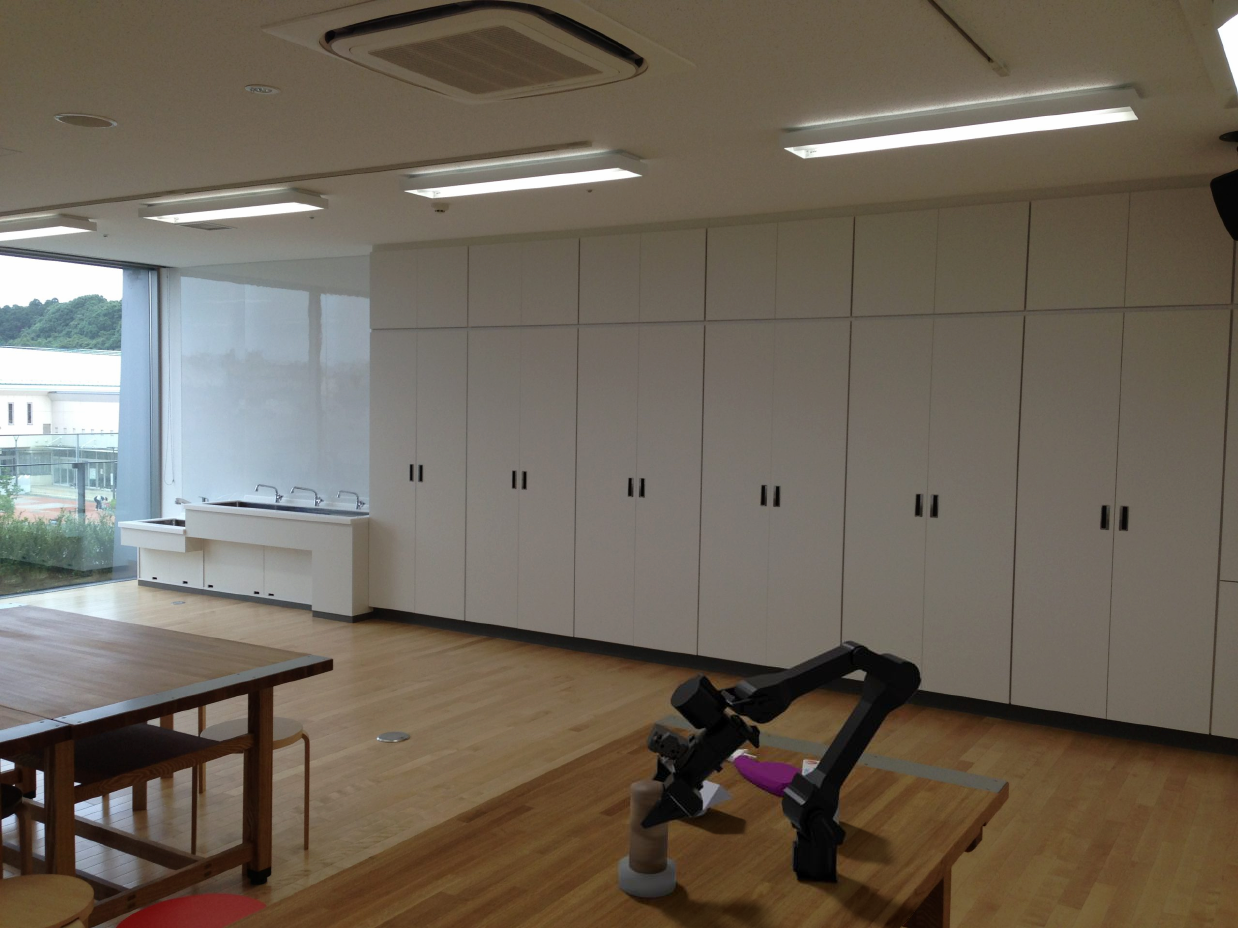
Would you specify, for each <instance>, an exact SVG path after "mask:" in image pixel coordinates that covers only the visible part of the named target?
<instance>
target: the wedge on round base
mask: <svg viewBox="0 0 1238 928" xmlns="http://www.w3.org/2000/svg"><path fill="white" fill-rule="evenodd" d="M703 786H704V787H703V788H702V789H701V790H700V791H699V792H700V793H701V795H702V799H703V810H702V811H701V812H700V813H699V814H698V815H697V816H696V817H699V816H703V815H705V814H706V813H707V811H708V810H707V809H709V808H712V807H714V806H716V805H718V804H720V803H723V802H725V801H728V800H730V799H733V798H735V796H733V794H731V793H730V792H729V791H727V789H725V788H724V787H723V786H722V785H720V784H719V783H715V782H711V781H709V780H707V779H706V780H705V781H704V782H703ZM685 818H686V817H685ZM686 819H687V818H686Z"/></svg>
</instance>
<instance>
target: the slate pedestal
mask: <svg viewBox="0 0 1238 928" xmlns="http://www.w3.org/2000/svg"><path fill="white" fill-rule="evenodd" d="M676 881H677V864H676V863H675V861H674V860H672V859H671V858H669V857H667V868H666V870H665V871H663V872H660V873H657V874H642V873H638V872H635V871H633V870H632V869H631V868H630V867H629V855H627V856H625V857H622V858H621V859H620V860H619V862H618V881H617V885H618V887H619V890H621V891H623V892H624V893H626V894H629V895H631V896H634V897H639V898H649V899H651V898H652V899H653V898H660V897H664V896H667V895H669V894H671V893H673V892H674V891H675V889H676V885H677V884H676V883H677V882H676Z"/></svg>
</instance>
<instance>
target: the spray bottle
mask: <svg viewBox="0 0 1238 928" xmlns="http://www.w3.org/2000/svg"><path fill="white" fill-rule="evenodd" d="M754 759H755V760H754ZM756 759H757V756H755V755H752V754H749V749H748V748H745V749H744V748H743V749H741V748H739V749H738V750H737V751H736V752H734V753H733V754H732V755H731V756H730V757H729V758H728V759H727V760H726V761H728V762H730V763H733V764H734V766H735V768H736V769H737V771H738V772H739V773H740V774H741V776H742V777H743V778H744V779H746V780H747V781H748V782H750V783H752V784H753V785H755V786H756V787H758V788H760V789H762V790H764V791H767V792H768V793H770V794H772V795H774V796H778V797H784V795H785V793H784V792H783V790H784V789H786V788H787V787H788V786H789V785H790V783H791V781H792V779H793V777H794V775H795V774H796V773H797V772H800V773H801V774H802V769H800V768H799V767H795V766H793V765H791V764H789V763H785V762H779V761H778V762H777V761H763V762H762V761H760V762H757V761H756Z"/></svg>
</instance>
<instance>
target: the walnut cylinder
mask: <svg viewBox="0 0 1238 928" xmlns="http://www.w3.org/2000/svg"><path fill="white" fill-rule="evenodd" d="M662 783H663V782H659V781H653V780H651V779H648V780H647V779H646V780H645V779H643V780H638V781H635V782H633V783H631V785H630V804H629V805H630V808H629V843H628V844H629V845H628V849H629V850H628V856H629V867H630V868H631V869H632V870H633V871H635V872H638V873H642V874H657V873H660V872H663V871H665V870H666V868H667V858H668V849H669V847H668V845H669V822H666V823H662V824H659V825H656V826H653V827H650V828H646V829H644V828H643V827H642V826H641V824H640V823H641V821H642V820H643V819H644V817H645V816H646V815H647V813H648V812H649V811H650V810H651V808H652V807H653V806H654V804H655V803H656V802H657V801H658V799H659V798H660V797H661V784H662ZM663 784H664V783H663ZM664 785H665V784H664Z"/></svg>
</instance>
